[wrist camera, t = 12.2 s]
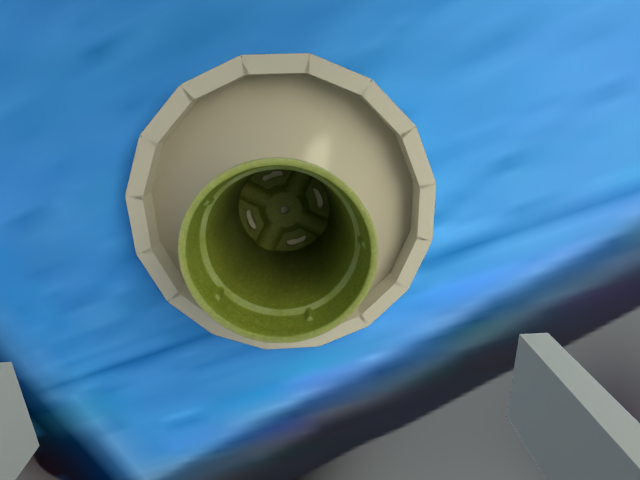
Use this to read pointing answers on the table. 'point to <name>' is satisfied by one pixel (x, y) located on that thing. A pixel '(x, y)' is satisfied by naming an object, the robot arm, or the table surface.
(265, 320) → the plant pot
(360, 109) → the saucer
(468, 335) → the table surface
